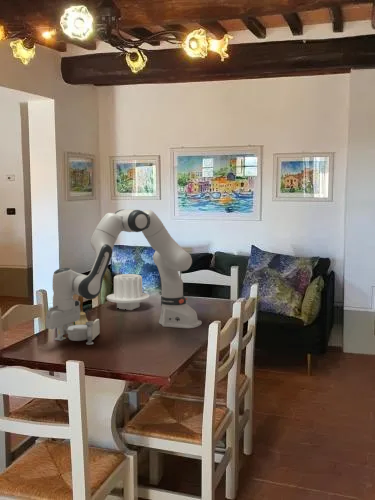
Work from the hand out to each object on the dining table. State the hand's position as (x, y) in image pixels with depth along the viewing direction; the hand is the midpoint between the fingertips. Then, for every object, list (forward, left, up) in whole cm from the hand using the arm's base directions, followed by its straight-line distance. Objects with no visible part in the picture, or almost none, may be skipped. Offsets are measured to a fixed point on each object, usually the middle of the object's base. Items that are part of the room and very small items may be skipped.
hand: (63, 334), depth 247 cm
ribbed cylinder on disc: (+14, -76, -5) cm, 77 cm away
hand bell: (+16, -34, -5) cm, 38 cm away
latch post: (+7, -6, -5) cm, 10 cm away
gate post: (-10, -6, -5) cm, 13 cm away
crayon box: (+14, -20, -5) cm, 25 cm away
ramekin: (0, -11, -5) cm, 12 cm away
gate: (-8, -12, -4) cm, 15 cm away
